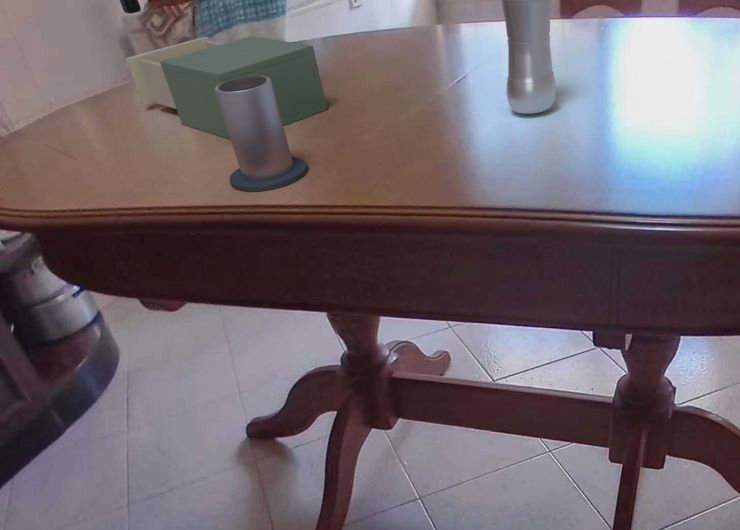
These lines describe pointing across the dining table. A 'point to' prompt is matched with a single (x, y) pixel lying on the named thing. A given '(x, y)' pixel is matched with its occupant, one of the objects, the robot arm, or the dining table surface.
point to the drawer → (160, 70)
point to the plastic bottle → (529, 55)
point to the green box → (241, 59)
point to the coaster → (292, 176)
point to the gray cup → (255, 127)
